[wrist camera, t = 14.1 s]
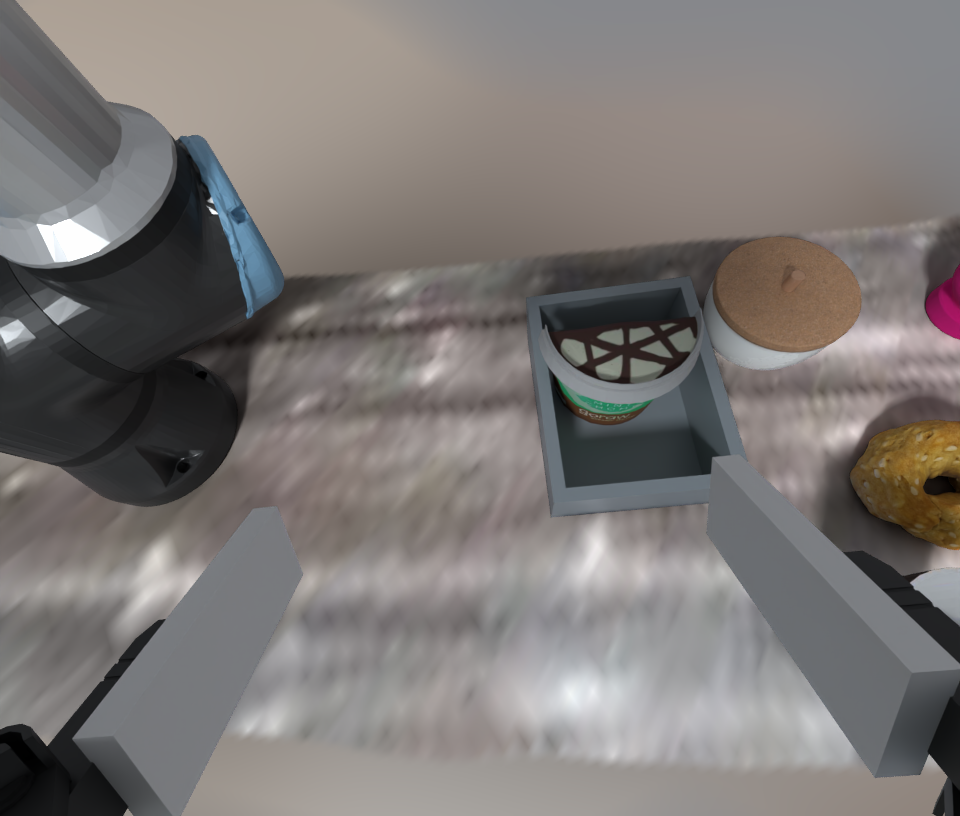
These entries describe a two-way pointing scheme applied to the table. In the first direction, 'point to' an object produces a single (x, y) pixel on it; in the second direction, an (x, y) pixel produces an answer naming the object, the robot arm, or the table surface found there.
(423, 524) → the table surface
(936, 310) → the pepper mill
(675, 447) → the charcoal bin
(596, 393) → the food container
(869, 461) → the bagel
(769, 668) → the table surface
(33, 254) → the robot arm
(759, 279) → the lidded jar
